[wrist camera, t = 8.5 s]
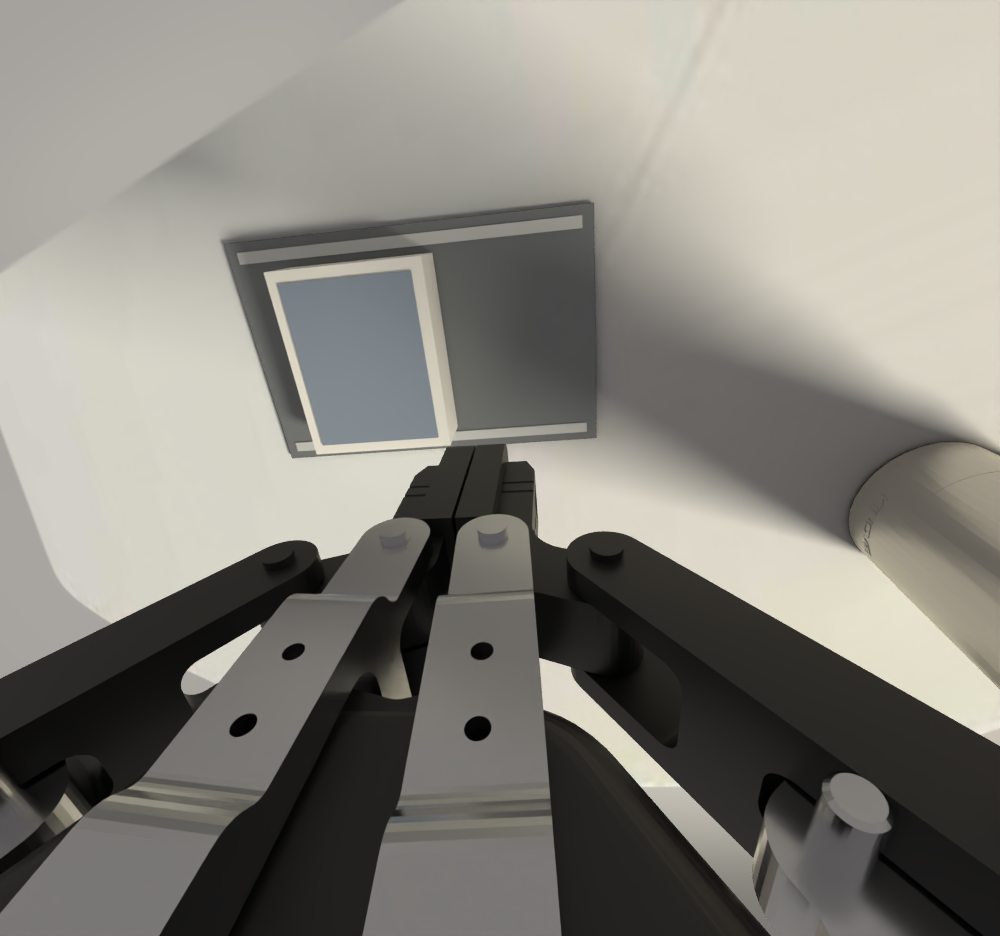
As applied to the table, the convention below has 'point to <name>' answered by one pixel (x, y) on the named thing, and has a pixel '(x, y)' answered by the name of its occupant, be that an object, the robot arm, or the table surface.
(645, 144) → the table surface
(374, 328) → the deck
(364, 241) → the mat
